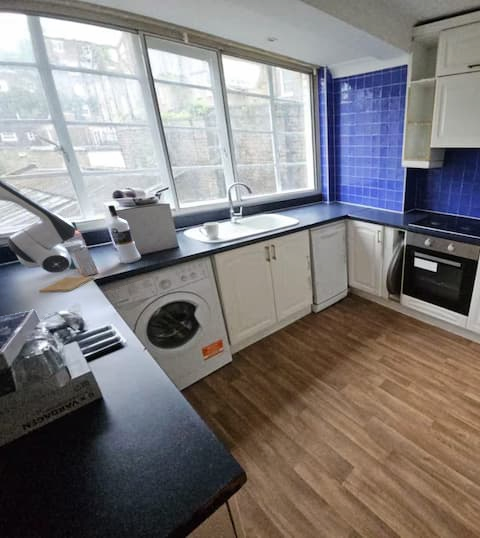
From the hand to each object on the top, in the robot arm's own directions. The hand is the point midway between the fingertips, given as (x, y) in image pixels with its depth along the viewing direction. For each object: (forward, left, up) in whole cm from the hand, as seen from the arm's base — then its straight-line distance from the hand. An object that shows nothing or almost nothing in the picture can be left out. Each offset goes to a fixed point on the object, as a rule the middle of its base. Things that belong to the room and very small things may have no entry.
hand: (51, 247), depth 127 cm
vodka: (+27, -10, -18) cm, 34 cm away
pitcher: (+24, +14, -18) cm, 33 cm away
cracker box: (+13, +2, -18) cm, 22 cm away
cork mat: (-1, -1, -18) cm, 18 cm away
